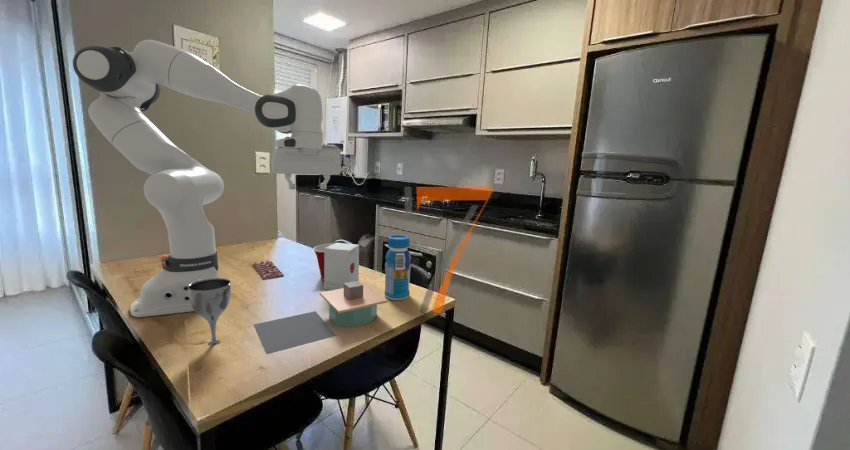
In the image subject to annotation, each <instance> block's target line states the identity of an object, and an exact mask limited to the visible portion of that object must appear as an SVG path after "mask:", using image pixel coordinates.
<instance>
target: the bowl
mask: <svg viewBox="0 0 850 450" xmlns="http://www.w3.org/2000/svg"><path fill="white" fill-rule="evenodd" d="M328 310H329V311H328V313H329V314H328V315H329V317H328V318H329V319H330V320H331V321H332V322H333V324H335V326H345V327H351V328H352V327H353V328H355V327H358V326H363V325H367V324H370V323H372V322H373V320H374V319H375V317H376V316H377V315H378V314H377V313H378V305H374V306H369V307H365V308H360V309H356V310H352V311H347V312H343V313H338V312H337V311H336V310H335V309H334V308H333V307H332V306H331V305H330V304H329V303H328Z"/></svg>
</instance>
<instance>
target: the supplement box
mask: <svg viewBox="0 0 850 450" xmlns="http://www.w3.org/2000/svg"><path fill="white" fill-rule="evenodd" d="M334 243H335V244H333V245H330V246H328V247H326V248H324V279H323V281H324V283H323V284H324V286H323V289H324V290H323V292H325V291H331V290H336V289H341V288H344V283H348V282H353V281H358V282H360V281H359V279H360V278H359V277H360V275H359V273H360V244H355V243H354V244H353V243H344V242H334Z"/></svg>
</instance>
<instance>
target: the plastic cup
mask: <svg viewBox="0 0 850 450" xmlns="http://www.w3.org/2000/svg"><path fill="white" fill-rule="evenodd" d="M335 243H336V242H332V243H330V242H329V243H323V244H319V245H315V246H314V247H313V248H312V249H313V251H314V252H315V256H316V259H317V264H318V269H319V273H320V277H321V279H323V280H324V248H326V247H328V246H330V245H333V244H335Z"/></svg>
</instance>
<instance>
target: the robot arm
mask: <svg viewBox="0 0 850 450" xmlns="http://www.w3.org/2000/svg"><path fill="white" fill-rule="evenodd" d="M72 67H73V71H74V72H75V74H76V76H77V77H78V78H79V79H80V80H81V81H82V82H83V83H84V84H86V86H88V87H90V88H92V89H93V90H95V91H98V92H99V96H98V98H96V99H95V100H94V101H92V102H91V103H90V105H89V106H88V109H87V113H88V116H89V118H90V120H91V121H92V123H93V124H94V125H95V127H96V128H97V130H98V131H99V132H100V133H101V134H102V135H103V137H104V138H105V139H106V140H107V141H108V142H109V143H110V144H111V145H112V146H113V147H114V148H115V149H116V150H118V152H119V153H120V154H122V156H123V157H125V159H126V160H128V162H130V163H131V165H133V166H134V168H136V169H138V170H139V171H141V172H144V173H146V174H148V175H150V176H149V177H148V178H146V180H145V182H144V184H143V193H144V194H143V195H144V198H145V200H147V202H148V203H149V204H150V205H151V206H152V207H154V208H156V209H157V210H158V213H160V216H161V217H162V220H163V221H164V224H165V226H166V230H167V235H168V242H169V252H170V253H169V255H168V254H162V255H161V256H160V261H161V266H162V269H161V271H158V273H156V274H155V275H153V276H152V277H151V278H149V279H148V280H147V281H146V282H144V283H143V286H142V287H141V289H140V293H139V297H138V298H137V299H135V300H134V301H133V302H132V303H131V305H130V307H129V308H130V309H129V312H130V313H129V314H130V315H131V316H132V317H134V318H146V317H154V316H161V315H162V316H163V315H172V314H181V313H187V312H188V313H189V312H190V313H191V312H195V311H194V309H193V307H192V305H191V302H190V298H189V289H188V287H189V285H190V284H192V283H194V282H197V281H200V280H204V279H211V278H220V275H219V268H220V265H219V264H220V263H219V261H220V260H219V255H218V251H216V236H215V227H214V225H213V224H212V223H211V222H210V221H209V220H208V218H207V216H206V213H205V210H204V205H208V204H211V203H213V202H215V201H216V200H218V199H219V198H220V197H221V196H222V195H223V194H224V191H225V183H224V180H223V178H222V177H221V176H220V175H219V174H218V173H217V172H215V171H213V170H211V169H209V168H207V167H205V166H204V165H202V164H201V163H200V162H199V161H198V160H196V159H195V158H193V157H191V156H190V155H189V154H188V153H186V152H185V151H184V150H183V149H181V148H179V147H178V146H177V145H176V144H175V143H173V142H172V141H171V140H170V139H169V138H168V137H167V136H166V135H165V134H164V133H163V132H162V131H161V130H160V128H158V127H157V126H156V125H155V124H154V123H153V122H152V121H151V120H150V119H149V118H148V117H147V116H146V115H145V114H144V113H143V112H145V111H147V110H149V108H150V107H151V106H152V105H153V104H155V102H156V101H157V100H158V99H159V97H160V95H161V91H162V90H161V86H164V87H167V88H168V89H171V90H173V91H176V92H177V93H180V94H183V95H185V96H188V97H193V98H196V99H199V100H200V99H201V100H203V101H204V100H205V101H209V102H213V103H219V104H225V105H228V106H232V107H235V108H237V109H241V111H245V112H247V113H249V114H250V115H254V116H255V117H256V119H257V121H258V122H259V123H260V125H262V126H264V127H266V128H268V129H270V130H274V131H277V132H278V133H280V134H283V135H284V134H286V135H289V134H291V136H286V137H284V138H283V137H282V138H279V139H276V140H274V146H275V148H274V149H273V151H272V155H271V162H270V165H271V167H270V168H271V172H273V173H274V174H283V175H284V178H285V180H286V181H287V183H288V189H289V190H296V183H295V182H293V181H292V180H291V179H292V175H323V179H324V180H323V182H321V183H320V184H319V185H320V190H327V184H328V183H329V181H330V179H331V175H332V176H336V175H337V176H338V175H340V174H341V173H342V164H341V163H342V162H341V157H342V156H341V155H342V154H341V151H342V150H341V149H340V148H339V147H338V146H337V145H336V144H327V143H323V141H324V140H323V138H324V137H323V135H324V134H323V129H322V123H323V117H324V116H323V102H322V97H321V95H320V93H319V91H318V90H316V89H315V88H313V87H311V86H310V85H309V86H308V85H304V84H300V83H299V84H298V83H297V84H293V85H291V86H290V87H289V88H287V89H285V90H282V91H279V92H275V93H271V94H264V95H260V94H258V93H256V92H253V91H251V90H249V89H248V88H247V89H246V88H245V87H243V86H241V85H239V84H238V83H236V82H235V81H233V80H231V79H230V78H229V77H228V76H227V75H225V74H224V73H223V72H221V71H220V70H218V69H217V68H216V67H214V66H213V65H211V64H210V63H208V62H206V61H205V60H203V59H202V58H200V57H199V56H197V55H194V54H192V53H191V52H188V51H186V50H184V49H181V48H179V47H176V46H174V45H171V44H167V43H165V42H162V41H158V40H153V39H144V40H141V41H139V42H138V43H137V44H136V45H135V46H134V49H133V51H131V52H128V51H126V49H124V48H122V47H120V46H109V47H108V46H98V45H97V46H95V45H93V46H92V45H91V46H84V47H82V48H80V49H79V50H78V51H77V52H76V53H75V54H74V55H73V59H72Z"/></svg>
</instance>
